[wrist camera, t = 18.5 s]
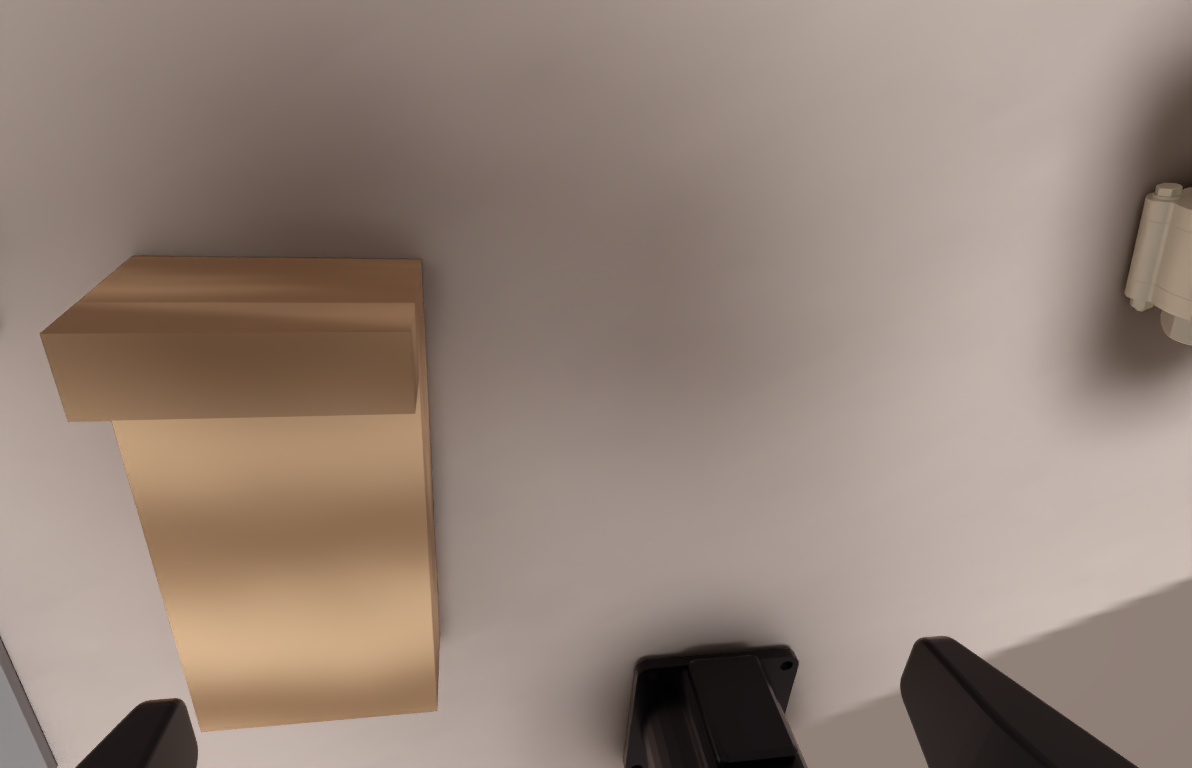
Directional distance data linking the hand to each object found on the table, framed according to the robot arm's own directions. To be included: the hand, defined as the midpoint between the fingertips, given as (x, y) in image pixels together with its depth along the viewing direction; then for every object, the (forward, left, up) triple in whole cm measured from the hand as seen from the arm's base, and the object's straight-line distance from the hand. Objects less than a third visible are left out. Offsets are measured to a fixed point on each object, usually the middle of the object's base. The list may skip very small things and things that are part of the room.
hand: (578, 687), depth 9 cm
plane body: (-6, +6, -13) cm, 16 cm away
